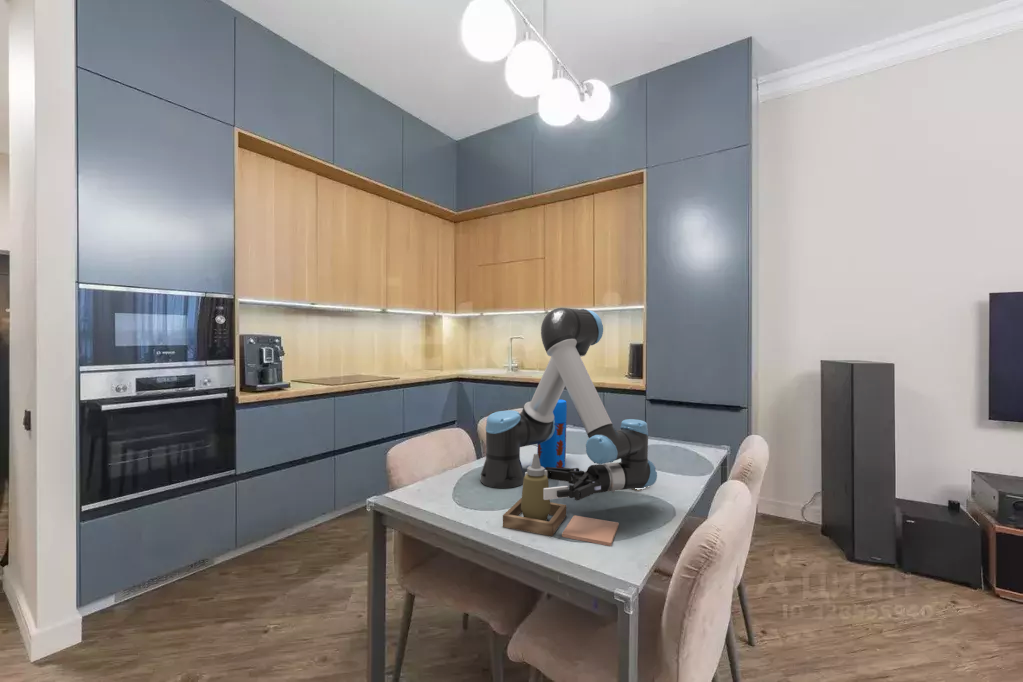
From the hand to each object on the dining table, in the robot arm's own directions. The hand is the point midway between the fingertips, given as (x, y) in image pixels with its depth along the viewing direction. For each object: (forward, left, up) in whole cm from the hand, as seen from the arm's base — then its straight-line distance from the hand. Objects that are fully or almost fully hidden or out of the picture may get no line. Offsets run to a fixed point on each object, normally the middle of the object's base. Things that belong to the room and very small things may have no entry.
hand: (534, 485), depth 114 cm
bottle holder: (0, +1, -10) cm, 10 cm away
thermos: (-11, +51, -10) cm, 53 cm away
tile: (+15, +1, -10) cm, 18 cm away
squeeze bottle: (0, +1, -10) cm, 10 cm away
